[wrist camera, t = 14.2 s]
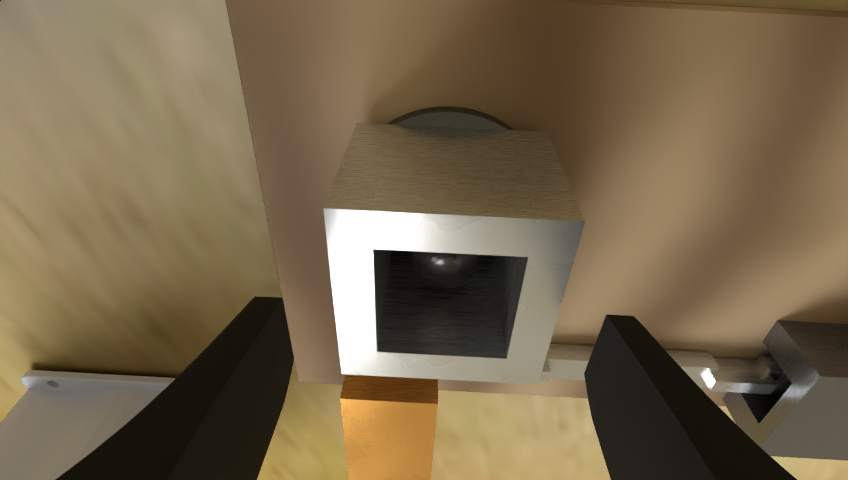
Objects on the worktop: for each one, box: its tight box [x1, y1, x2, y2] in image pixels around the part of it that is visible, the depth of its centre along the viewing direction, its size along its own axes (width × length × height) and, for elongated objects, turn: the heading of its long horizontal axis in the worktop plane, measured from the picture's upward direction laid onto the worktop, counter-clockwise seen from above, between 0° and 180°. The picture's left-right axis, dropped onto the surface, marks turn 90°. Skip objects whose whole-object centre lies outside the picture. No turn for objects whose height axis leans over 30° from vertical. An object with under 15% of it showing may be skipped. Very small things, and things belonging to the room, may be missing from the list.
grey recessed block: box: [323, 123, 585, 384], centre depth 13 cm, size 5×5×4 cm
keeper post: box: [387, 106, 514, 288], centre depth 14 cm, size 6×6×3 cm
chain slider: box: [340, 344, 792, 480], centre depth 18 cm, size 18×5×4 cm, turn 88°
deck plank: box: [226, 0, 848, 406], centre depth 17 cm, size 30×16×1 cm, turn 88°
